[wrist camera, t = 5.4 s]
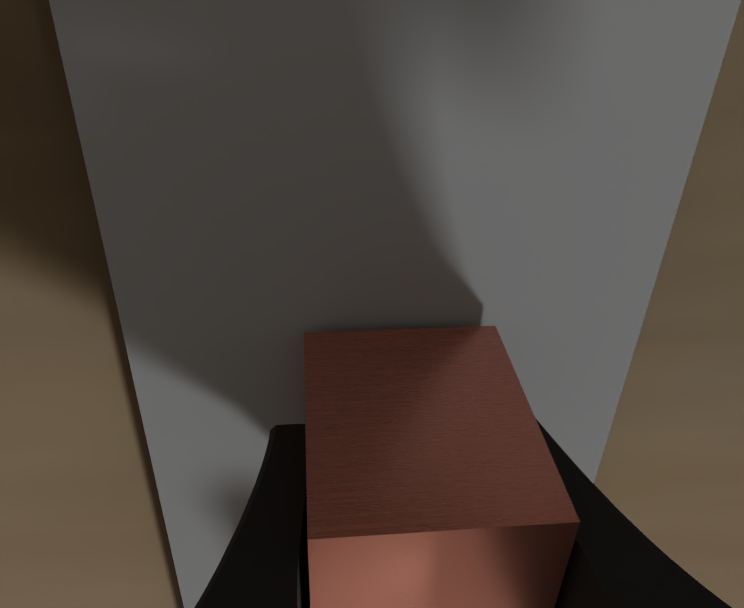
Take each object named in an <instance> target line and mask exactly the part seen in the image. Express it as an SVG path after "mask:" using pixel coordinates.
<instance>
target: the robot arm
mask: <svg viewBox="0 0 744 608" xmlns="http://www.w3.org/2000/svg"><path fill="white" fill-rule="evenodd" d="M536 421H537V423H538V425H539V428H540V430H541V432H542V435H543V437H544V439H545V442H546V444H547V446H548V448H549V451H550V453H551V455H552V458H553V460H554V462H555V465H556V467H557V469H558V472H559V474H560V476H561V479H562V481H563V483H564V486H565V488H566V490H567V493H568V495H569V497H570V499H571V502H572V504H573V506H574V509H575V511H576V513H577V516H578V518H579V520H580V524H579V528H578V531H577V534H576V538H575V541H574V544H573V547H572V551H571V554H570V557H569V561H568V564H567V567H566V571H565V574H564V577H563V580H562V584H561V587H560V590H559V594H558V597H557V600H556V604H555V607H554V608H731V607H730V606H729V605H727V604H726V603H725V602H723V601H722V600H721V599H719V598H718V597H717V596H715V595H714V594H713V593H712V592H710V591H709V590H708V589H706V588H705V587H704V586H703V585H701V584H700V583H699V582H698V581H696V580H695V579H694V578H693V577H692V576H690V575H689V574H688V573H687V572H686V571H684V570H683V569H682V568H681V567H680V566H679V565H677V564H676V563H675V562H674V561H673V560H671V559H670V558H669V557H668V556H667V555H666V554H665V553H663V552H662V551H661V550H660V549H659V548H658V547H657V546H656V545H655V544H654V543H652V542H651V541H650V540H649V539H648V538H647V537H646V536H645V535H644V534H643V533H642V532H641V531H640V530H639V529H638V528H637V527H636V526H634V525H633V524H632V523H631V522H630V521H629V520H628V519H627V518H626V517H625V516H624V515H623V514H622V513H621V512H620V511H619V510H618V509H617V508H616V507H615V506H614V505H613V504H612V503H611V502H610V501H609V499H608V498H607V497H606V496H605V495H604V494H603V493H602V492H601V491H600V490H599V489H598V488H597V487H596V486H595V485H594V484H593V483H592V482H591V481H590V479H589V478H588V477H587V476H586V475H585V474H584V473H583V472H582V471H581V470H580V469H579V467H578V466H577V465H576V464H575V463H574V462H573V461H572V459H571V458H570V457H569V456H568V455H567V454H566V453H565V452H564V450H563V449H562V448H561V447H560V446H559V445H558V444H557V442H556V441H555V440H554V439H553V438H552V437H551V435H550V434H549V433H548V432H547V431H546V430H545V428H544V427H543V426H542V425H541V424H540V423H539V421H538V420H537V419H536ZM194 608H310V585H309V562H308V538H307V487H306V435H305V424H285V425H276V426H274V427H273V428H272V429H271V430H270V435H269V440H268V445H267V448H266V452H265V456H264V459H263V462H262V465H261V468H260V471H259V474H258V477H257V480H256V483H255V485H254V488H253V490H252V493H251V495H250V498H249V500H248V502H247V505H246V507H245V510H244V512H243V514H242V517H241V519H240V521H239V524H238V526H237V528H236V530H235V532H234V534H233V536H232V538H231V540H230V542H229V544H228V546H227V548H226V550H225V553H224V555H223V557H222V559H221V561H220V563H219V565H218V567H217V568H216V570H215V572H214V574H213V576H212V578H211V580H210V581H209V583H208V585H207V587H206V589H205V590H204V592H203V594H202V596H201V597H200V599H199V601H198V602H197V604H196V606H195V607H194Z"/></svg>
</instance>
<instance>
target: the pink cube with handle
mask: <svg viewBox="0 0 744 608" xmlns="http://www.w3.org/2000/svg"><path fill="white" fill-rule="evenodd" d="M304 384H305V435H306V487H307V538H308V562H309V585H310V608H554V607H555V604H556V600H557V597H558V594H559V590H560V587H561V584H562V580H563V577H564V574H565V571H566V567H567V564H568V561H569V557H570V554H571V551H572V547H573V544H574V541H575V538H576V534H577V531H578V528H579V524H580V520H579V518H578V516H577V513H576V511H575V509H574V506H573V504H572V502H571V499H570V497H569V495H568V493H567V490H566V488H565V486H564V483H563V481H562V479H561V476H560V474H559V472H558V469H557V467H556V465H555V462H554V460H553V458H552V455H551V453H550V451H549V448H548V446H547V444H546V442H545V439H544V437H543V435H542V432H541V430H540V428H539V425H538V423H537V421H536V418H535V416H534V414H533V411H532V409H531V407H530V404H529V402H528V400H527V398H526V395H525V393H524V391H523V388H522V386H521V384H520V381H519V379H518V377H517V374H516V372H515V370H514V367H513V365H512V363H511V360H510V358H509V356H508V354H507V351H506V349H505V347H504V344H503V342H502V340H501V337H500V335H499V333H498V330H497V328H496V326H472V327H444V328H416V329H388V330H360V331H332V332H304Z"/></svg>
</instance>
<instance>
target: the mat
mask: <svg viewBox="0 0 744 608" xmlns="http://www.w3.org/2000/svg"><path fill="white" fill-rule="evenodd" d="M740 2H741V0H49V4H50V8H51V13H52V17H53V22H54V26H55V31H56V35H57V40H58V44H59V49H60V53H61V58H62V62H63V67H64V71H65V76H66V80H67V85H68V89H69V94H70V98H71V102H72V107H73V111H74V116H75V120H76V125H77V129H78V134H79V138H80V143H81V147H82V152H83V156H84V161H85V165H86V170H87V174H88V179H89V183H90V188H91V192H92V197H93V201H94V206H95V210H96V215H97V219H98V224H99V228H100V233H101V237H102V242H103V246H104V251H105V255H106V260H107V264H108V269H109V273H110V278H111V282H112V287H113V291H114V296H115V300H116V305H117V309H118V314H119V318H120V323H121V327H122V332H123V336H124V341H125V345H126V350H127V354H128V359H129V363H130V368H131V372H132V377H133V381H134V386H135V390H136V395H137V399H138V404H139V408H140V413H141V417H142V422H143V426H144V431H145V435H146V439H147V444H148V448H149V453H150V457H151V462H152V466H153V471H154V475H155V480H156V484H157V489H158V493H159V498H160V502H161V507H162V511H163V516H164V520H165V525H166V529H167V534H168V538H169V543H170V547H171V552H172V556H173V561H174V565H175V570H176V574H177V579H178V583H179V588H180V592H181V597H182V601H183V606H184V608H194V607H195V606H196V604H197V602H198V601H199V599H200V597H201V596H202V594H203V592H204V590H205V589H206V587H207V585H208V583H209V581H210V580H211V578H212V576H213V574H214V572H215V570H216V568H217V567H218V565H219V563H220V561H221V559H222V557H223V555H224V553H225V550H226V548H227V546H228V544H229V542H230V540H231V538H232V536H233V534H234V532H235V530H236V528H237V526H238V524H239V521H240V519H241V517H242V514H243V512H244V510H245V507H246V505H247V502H248V500H249V498H250V495H251V493H252V490H253V488H254V485H255V483H256V480H257V477H258V474H259V471H260V468H261V465H262V462H263V459H264V456H265V452H266V448H267V445H268V440H269V435H270V430H271V429H272V428H273V427H274V426H276V425H285V424H305V384H304V332H332V331H360V330H388V329H416V328H444V327H472V326H496V328H497V330H498V333H499V335H500V337H501V340H502V342H503V344H504V347H505V349H506V351H507V354H508V356H509V358H510V360H511V363H512V365H513V367H514V370H515V372H516V374H517V377H518V379H519V381H520V384H521V386H522V388H523V391H524V393H525V395H526V398H527V400H528V402H529V404H530V407H531V409H532V411H533V414H534V416H535V418H536V419H537V420H538V421H539V423H540V424H541V425H542V426H543V427H544V428H545V430H546V431H547V432H548V433H549V434H550V435H551V437H552V438H553V439H554V440H555V441H556V442H557V444H558V445H559V446H560V447H561V448H562V449H563V450H564V452H565V453H566V454H567V455H568V456H569V457H570V458H571V459H572V461H573V462H574V463H575V464H576V465H577V466H578V467H579V469H580V470H581V471H582V472H583V473H584V474H585V475H586V476H587V477H588V478H589V479H590V481H591V482H592V483H593V484H594V481H595V478H596V475H597V471H598V468H599V465H600V461H601V458H602V455H603V452H604V448H605V445H606V442H607V438H608V435H609V432H610V429H611V425H612V422H613V419H614V416H615V412H616V409H617V406H618V402H619V399H620V396H621V393H622V389H623V386H624V383H625V379H626V376H627V373H628V370H629V366H630V363H631V360H632V357H633V353H634V350H635V347H636V343H637V340H638V337H639V334H640V330H641V327H642V324H643V320H644V317H645V314H646V311H647V307H648V304H649V301H650V298H651V294H652V291H653V288H654V284H655V281H656V278H657V275H658V271H659V268H660V265H661V261H662V258H663V255H664V252H665V248H666V245H667V242H668V238H669V235H670V232H671V229H672V225H673V222H674V219H675V216H676V212H677V209H678V206H679V202H680V199H681V196H682V193H683V189H684V186H685V183H686V179H687V176H688V173H689V170H690V166H691V163H692V160H693V157H694V153H695V150H696V147H697V143H698V140H699V137H700V134H701V130H702V127H703V124H704V120H705V117H706V114H707V111H708V107H709V104H710V101H711V98H712V94H713V91H714V88H715V84H716V81H717V78H718V75H719V71H720V68H721V65H722V61H723V58H724V55H725V52H726V48H727V45H728V42H729V39H730V35H731V32H732V29H733V25H734V22H735V19H736V16H737V12H738V9H739V6H740Z"/></svg>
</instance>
